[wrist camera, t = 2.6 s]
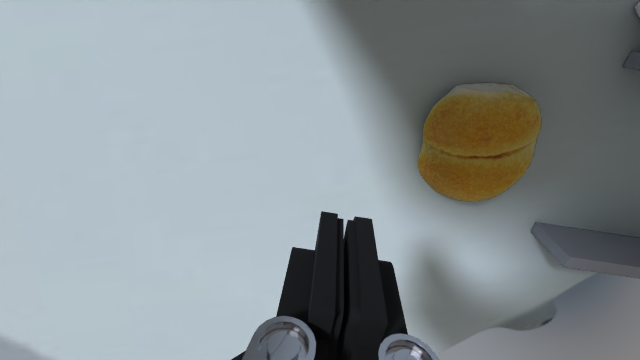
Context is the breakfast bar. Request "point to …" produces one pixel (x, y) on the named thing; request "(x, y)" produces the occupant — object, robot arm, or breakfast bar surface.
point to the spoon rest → (638, 9)
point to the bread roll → (479, 140)
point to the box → (593, 239)
